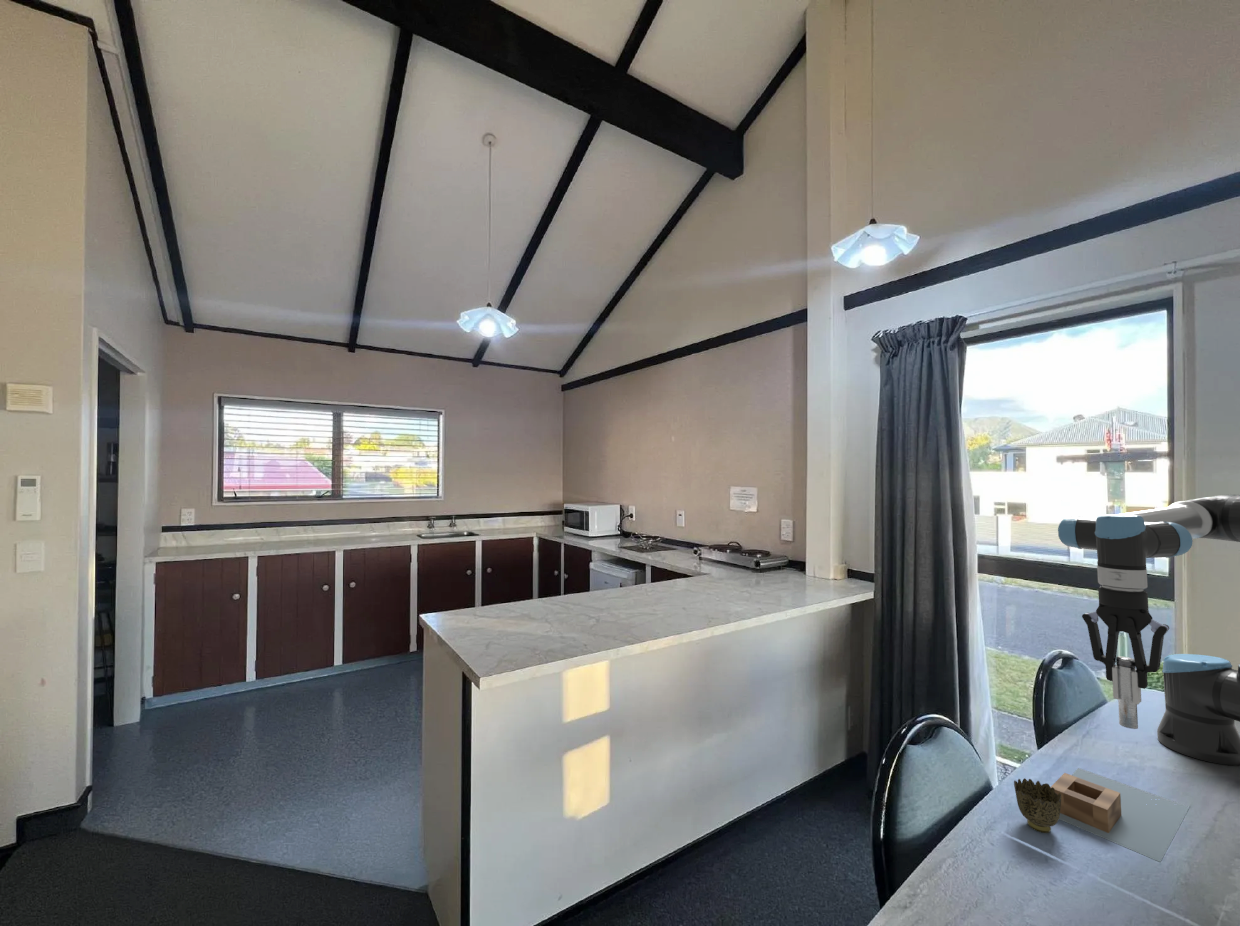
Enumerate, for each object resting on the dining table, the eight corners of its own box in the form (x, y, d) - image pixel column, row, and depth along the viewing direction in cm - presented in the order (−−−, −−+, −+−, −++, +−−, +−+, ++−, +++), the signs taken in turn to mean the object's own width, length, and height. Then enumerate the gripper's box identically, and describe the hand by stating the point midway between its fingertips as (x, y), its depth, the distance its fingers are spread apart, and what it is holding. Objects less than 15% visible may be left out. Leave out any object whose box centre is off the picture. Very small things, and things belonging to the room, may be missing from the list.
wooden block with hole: (1065, 793, 113) (1064, 772, 113) (1121, 815, 106) (1120, 792, 106) (1051, 809, 108) (1050, 787, 108) (1108, 833, 101) (1107, 809, 101)
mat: (1078, 769, 122) (1078, 767, 122) (1189, 808, 107) (1189, 806, 107) (1038, 812, 108) (1037, 810, 108) (1160, 864, 93) (1160, 861, 93)
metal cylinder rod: (1120, 721, 110) (1118, 655, 110) (1139, 726, 108) (1137, 659, 108) (1117, 724, 108) (1114, 658, 109) (1136, 730, 106) (1133, 662, 106)
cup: (1072, 844, 98) (1070, 802, 99) (1029, 839, 100) (1027, 798, 100) (1048, 818, 106) (1046, 779, 106) (1008, 814, 107) (1006, 776, 107)
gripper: (1069, 584, 113) (1074, 691, 112) (1170, 596, 100) (1176, 718, 100) (1080, 579, 117) (1085, 683, 116) (1178, 591, 104) (1184, 708, 104)
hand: (1127, 699), depth 108 cm, fingers closed on metal cylinder rod, 2 cm apart
